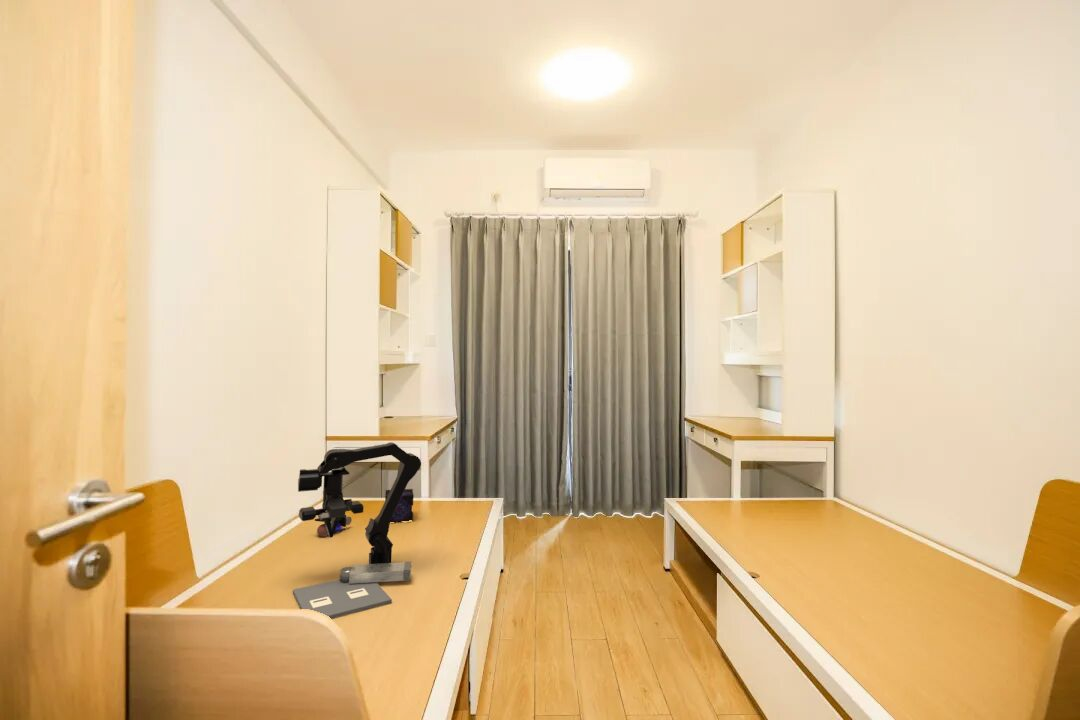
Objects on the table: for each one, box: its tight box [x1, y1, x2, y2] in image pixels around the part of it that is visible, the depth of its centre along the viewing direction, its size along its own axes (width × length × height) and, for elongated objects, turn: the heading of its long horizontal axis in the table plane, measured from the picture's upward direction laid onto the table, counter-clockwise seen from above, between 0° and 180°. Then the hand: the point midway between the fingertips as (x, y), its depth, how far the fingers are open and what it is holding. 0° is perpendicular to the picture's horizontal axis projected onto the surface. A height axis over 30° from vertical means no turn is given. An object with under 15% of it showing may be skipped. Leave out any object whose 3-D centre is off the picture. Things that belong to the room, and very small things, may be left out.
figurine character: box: [314, 514, 352, 538], centre depth 196 cm, size 7×8×15 cm
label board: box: [292, 578, 393, 620], centre depth 139 cm, size 22×22×1 cm
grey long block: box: [339, 561, 412, 584], centre depth 151 cm, size 21×7×3 cm, turn 102°
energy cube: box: [384, 488, 414, 523], centre depth 217 cm, size 12×12×12 cm
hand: (330, 537), depth 156 cm, fingers closed
